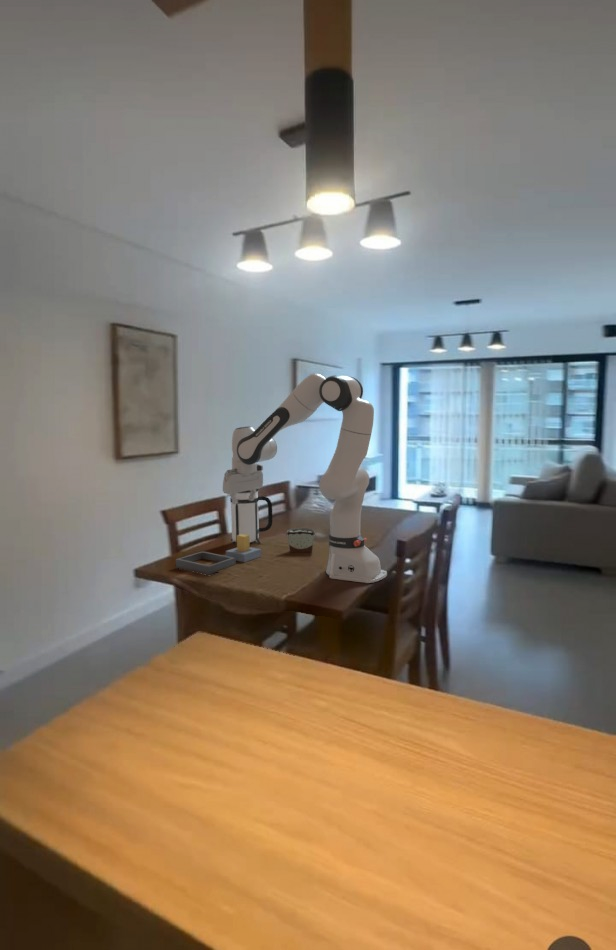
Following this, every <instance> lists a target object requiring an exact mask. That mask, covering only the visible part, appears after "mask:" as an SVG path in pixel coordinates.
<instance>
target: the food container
mask: <svg viewBox="0 0 616 950" xmlns="http://www.w3.org/2000/svg"><path fill="white" fill-rule="evenodd" d="M285 536H287V543H288V550H289V552H290V553H308V554H313V552H314V551H313V549H314V540H315V537H316V532H315V530H314V529H313V528H309V527H308V528H307V527H294V528H290V529H288V530H286V534H285Z"/></svg>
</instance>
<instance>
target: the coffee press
mask: <svg viewBox="0 0 616 950" xmlns="http://www.w3.org/2000/svg"><path fill="white" fill-rule="evenodd" d="M259 490H260V488H258V489H256V493H255V495H254V500H252V501H250V500H248V496H250V493H251V491H250V490H248V491H243V492H238V493H236V499H238V504H233V503H232V498H231V496H230V494H227V495H226V497H230V498H229V499H230V509H231V510H230V513H231V514H230V515H231V539H230V541H231V543H235V544H234V546H237V535H241V534H244V535H249V544H251V543H255V544H256V545H261V542H260V540H259V537H260V536H259V535H260V532H266V531H268V530H270V529H271V527H272V526H273V503H272V500H270V498H269V497H267V496H263V495H261V496H259ZM259 501H264V502H266V503H267V515H268V516H267V520H268V522H267V524H266V526H264V527H259V526H260V525H259Z"/></svg>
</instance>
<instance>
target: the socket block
mask: <svg viewBox="0 0 616 950" xmlns="http://www.w3.org/2000/svg"><path fill="white" fill-rule="evenodd" d="M225 556H229V557H233V558H236V561H237V562H241V563H246V562H250V561H252V560H255V559H258V558H261V557H262V549H261V548H257V547H252V546H250V551H247V552H241V551H237V547H234V548H231V549H228V550H225Z"/></svg>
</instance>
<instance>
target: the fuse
mask: <svg viewBox="0 0 616 950" xmlns="http://www.w3.org/2000/svg"><path fill="white" fill-rule="evenodd" d="M250 544H251V543H249V535H244V534H241V535H237V545H236V548H237V551H241V552H247V551H250V547H251V546H250Z"/></svg>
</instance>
